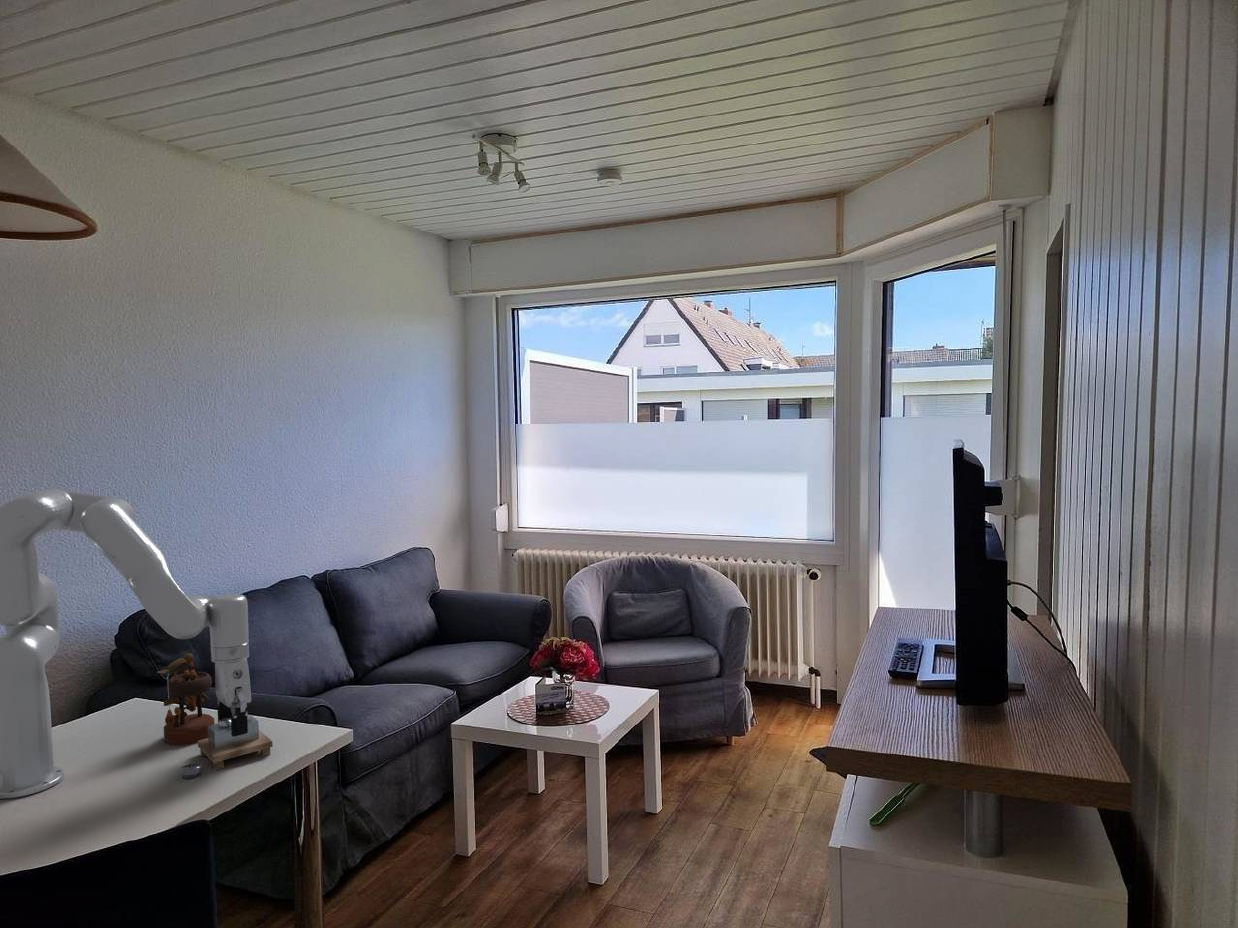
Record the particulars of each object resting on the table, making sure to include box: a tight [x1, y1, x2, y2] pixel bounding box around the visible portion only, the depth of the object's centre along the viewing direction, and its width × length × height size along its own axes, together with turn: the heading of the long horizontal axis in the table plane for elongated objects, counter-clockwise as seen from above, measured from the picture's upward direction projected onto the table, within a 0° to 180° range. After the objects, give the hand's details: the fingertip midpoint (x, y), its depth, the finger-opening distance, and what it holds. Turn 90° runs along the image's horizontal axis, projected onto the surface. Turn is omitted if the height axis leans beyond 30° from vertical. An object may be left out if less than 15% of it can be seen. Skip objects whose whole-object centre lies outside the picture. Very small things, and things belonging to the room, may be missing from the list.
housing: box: [208, 714, 260, 750], centre depth 177 cm, size 5×9×5 cm, turn 132°
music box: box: [156, 653, 215, 746], centre depth 188 cm, size 15×11×20 cm
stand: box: [197, 730, 273, 771], centre depth 177 cm, size 12×12×3 cm
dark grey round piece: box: [180, 762, 202, 781], centre depth 167 cm, size 4×4×2 cm
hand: (232, 728), depth 177 cm, fingers open, 9 cm apart
